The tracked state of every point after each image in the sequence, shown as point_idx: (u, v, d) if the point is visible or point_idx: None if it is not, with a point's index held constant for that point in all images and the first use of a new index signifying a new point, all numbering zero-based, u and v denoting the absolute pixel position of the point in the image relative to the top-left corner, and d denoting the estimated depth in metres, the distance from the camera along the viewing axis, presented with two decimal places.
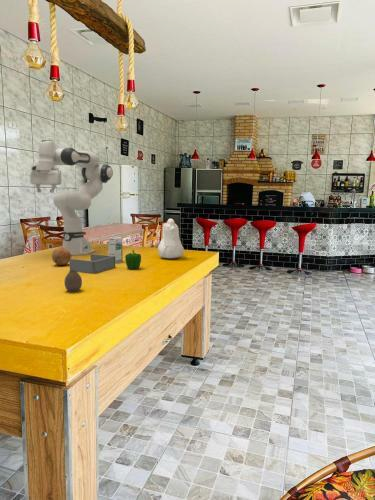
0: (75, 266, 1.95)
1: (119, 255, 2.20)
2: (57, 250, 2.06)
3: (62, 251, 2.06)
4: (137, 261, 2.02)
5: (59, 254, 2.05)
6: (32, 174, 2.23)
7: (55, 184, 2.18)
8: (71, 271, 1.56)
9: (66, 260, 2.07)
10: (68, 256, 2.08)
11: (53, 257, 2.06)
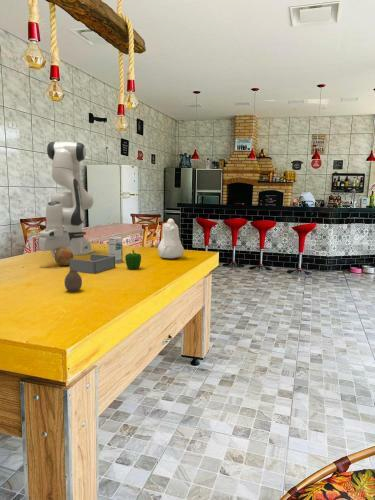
0: (75, 266, 1.95)
1: (119, 255, 2.20)
2: (60, 250, 2.06)
3: (65, 251, 2.05)
4: (137, 261, 2.02)
5: (62, 254, 2.04)
6: (47, 240, 2.01)
7: None
8: (71, 271, 1.56)
9: None
10: (71, 256, 2.07)
11: (56, 257, 2.05)
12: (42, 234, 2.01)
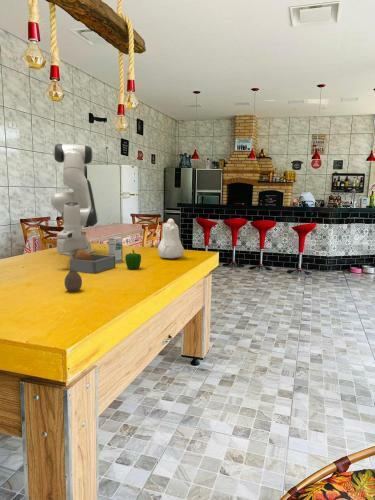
0: (75, 266, 1.95)
1: (119, 255, 2.20)
2: (78, 252, 2.01)
3: (83, 253, 2.01)
4: (137, 261, 2.02)
5: (80, 256, 2.00)
6: (65, 242, 1.97)
7: (82, 248, 2.12)
8: (71, 271, 1.56)
9: None
10: (89, 258, 2.03)
11: None
12: (60, 235, 1.97)
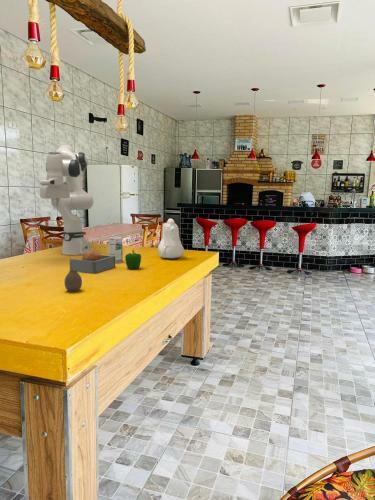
0: (75, 266, 1.95)
1: (119, 255, 2.20)
2: (87, 253, 1.99)
3: (93, 254, 1.99)
4: (137, 261, 2.02)
5: (90, 257, 1.98)
6: (48, 188, 2.07)
7: (65, 198, 2.23)
8: (71, 271, 1.56)
9: None
10: (99, 259, 2.00)
11: None
12: (43, 182, 2.07)
